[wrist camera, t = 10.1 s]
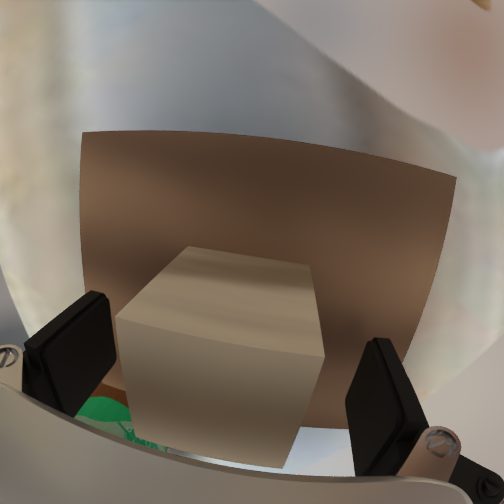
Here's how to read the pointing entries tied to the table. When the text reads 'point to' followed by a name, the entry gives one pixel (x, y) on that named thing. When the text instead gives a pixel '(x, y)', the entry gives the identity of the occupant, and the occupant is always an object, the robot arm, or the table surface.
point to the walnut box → (269, 231)
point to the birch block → (222, 355)
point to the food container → (111, 414)
